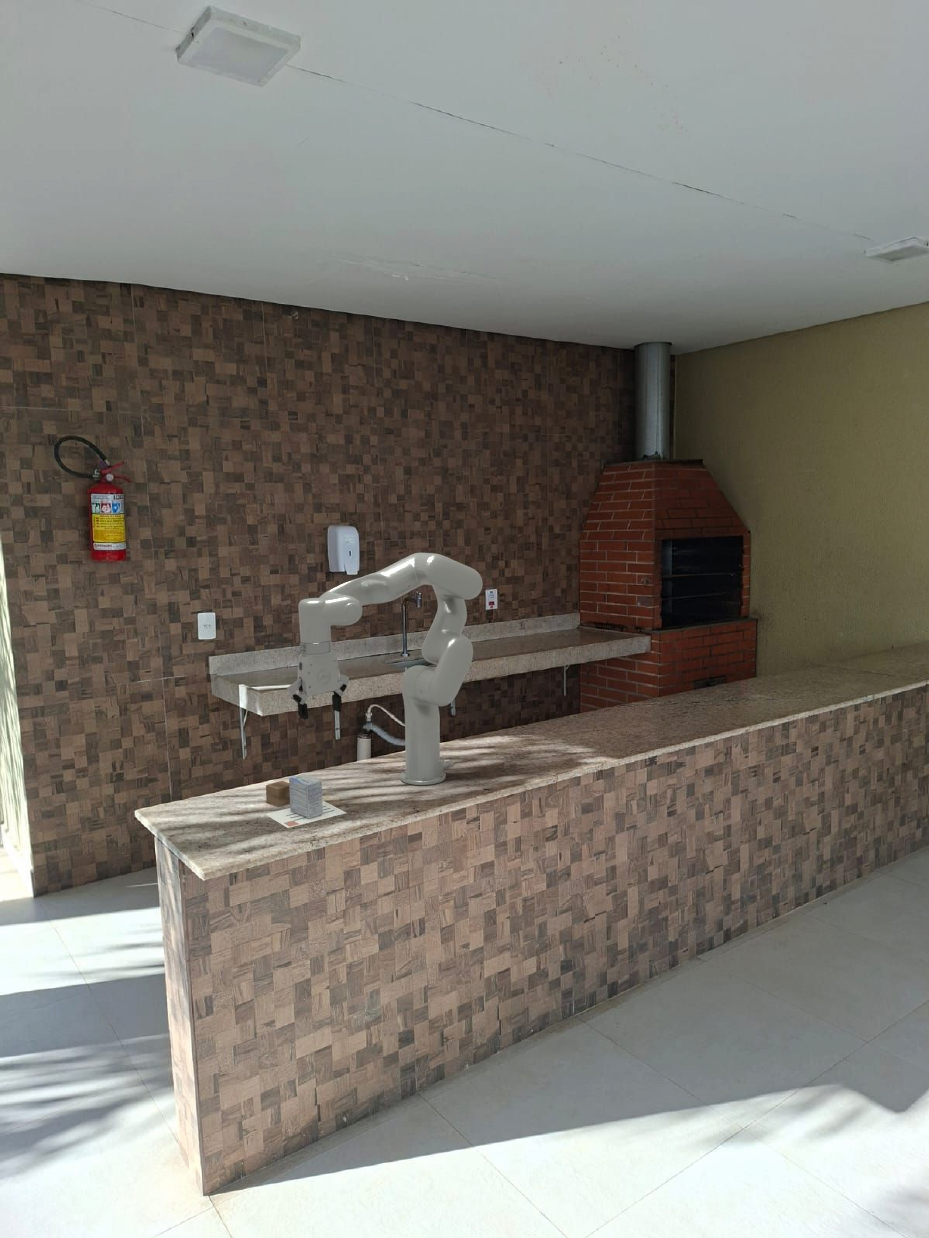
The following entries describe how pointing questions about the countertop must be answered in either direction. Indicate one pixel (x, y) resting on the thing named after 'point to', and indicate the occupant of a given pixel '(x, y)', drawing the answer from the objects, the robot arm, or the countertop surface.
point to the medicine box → (306, 796)
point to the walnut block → (278, 793)
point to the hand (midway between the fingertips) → (320, 714)
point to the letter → (295, 819)
